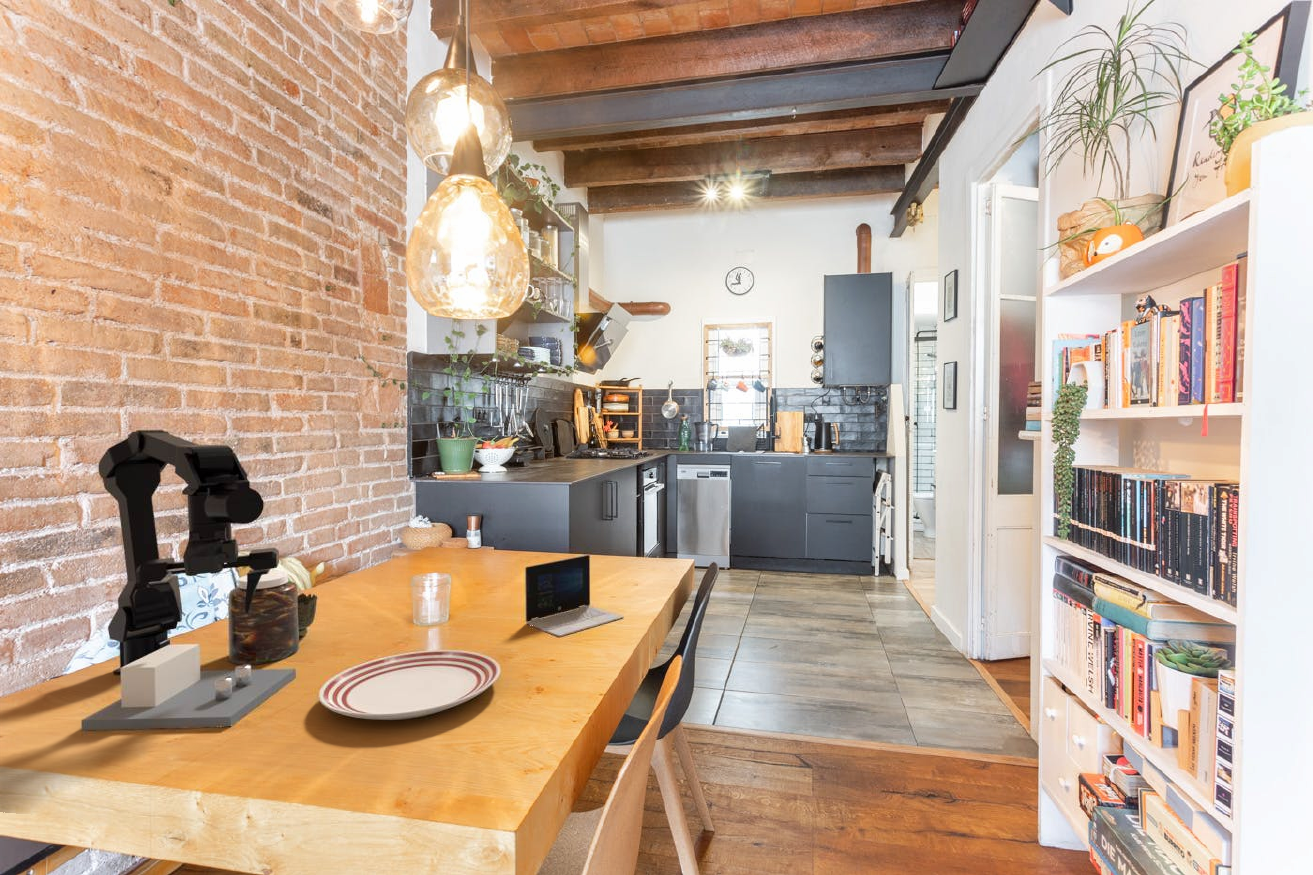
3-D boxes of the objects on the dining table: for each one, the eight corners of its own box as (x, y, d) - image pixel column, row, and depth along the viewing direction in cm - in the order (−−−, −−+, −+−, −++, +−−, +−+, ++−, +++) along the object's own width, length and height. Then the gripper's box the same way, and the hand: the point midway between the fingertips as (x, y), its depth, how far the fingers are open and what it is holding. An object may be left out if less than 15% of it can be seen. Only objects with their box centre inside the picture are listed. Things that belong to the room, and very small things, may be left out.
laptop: (559, 639, 131) (558, 576, 130) (525, 625, 139) (524, 566, 139) (624, 619, 143) (623, 562, 143) (589, 608, 152) (588, 554, 152)
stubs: (211, 701, 98) (211, 682, 98) (240, 682, 105) (240, 664, 105) (226, 701, 98) (226, 681, 98) (254, 682, 105) (253, 664, 105)
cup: (286, 644, 127) (285, 605, 127) (270, 637, 131) (269, 599, 131) (324, 634, 133) (323, 596, 133) (308, 628, 137) (307, 591, 137)
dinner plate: (330, 676, 111) (330, 657, 111) (491, 655, 121) (490, 638, 121) (305, 752, 86) (304, 728, 86) (510, 718, 95) (510, 696, 95)
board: (81, 730, 92) (81, 720, 92) (171, 679, 110) (171, 671, 110) (230, 726, 93) (230, 716, 93) (295, 677, 111) (295, 668, 110)
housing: (121, 707, 96) (120, 668, 96) (169, 680, 106) (168, 644, 106) (155, 706, 96) (154, 667, 96) (200, 679, 106) (199, 644, 106)
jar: (314, 646, 126) (312, 571, 126) (263, 668, 115) (261, 585, 114) (266, 641, 129) (265, 567, 129) (212, 661, 118) (210, 581, 118)
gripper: (123, 534, 93) (127, 640, 93) (271, 521, 101) (275, 619, 101) (143, 525, 103) (148, 621, 103) (277, 515, 111) (281, 603, 111)
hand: (214, 616), depth 104 cm, fingers open, 9 cm apart
